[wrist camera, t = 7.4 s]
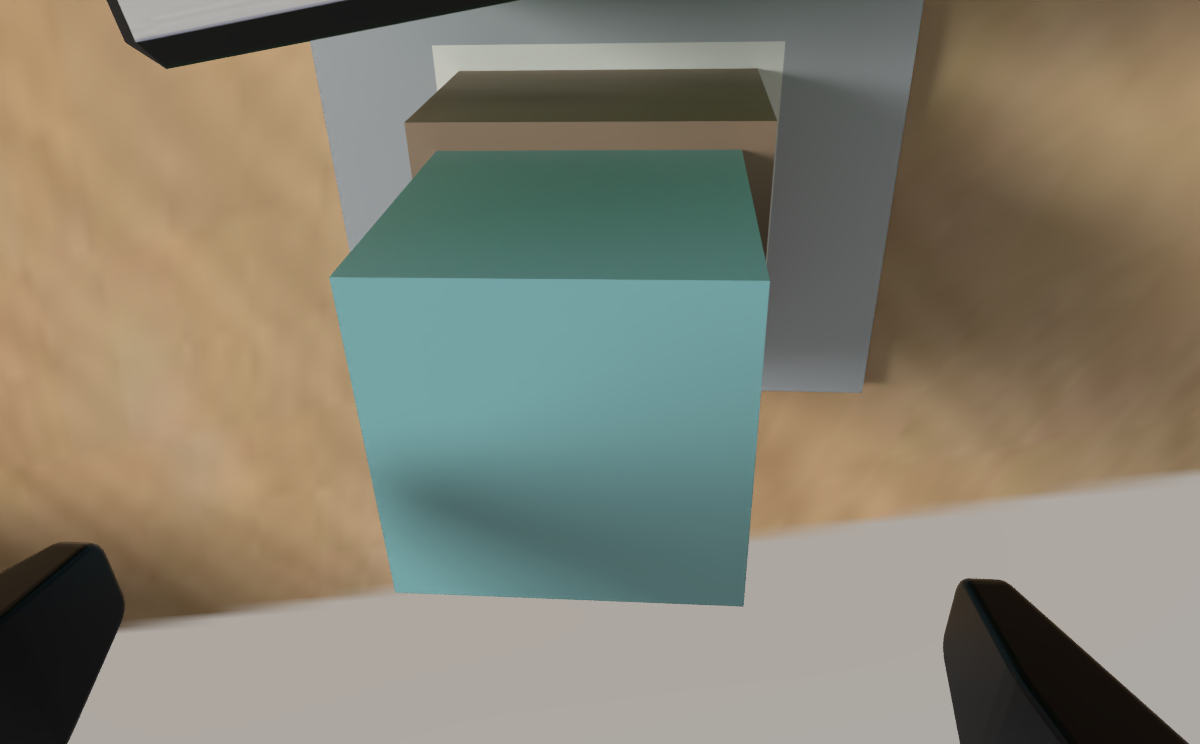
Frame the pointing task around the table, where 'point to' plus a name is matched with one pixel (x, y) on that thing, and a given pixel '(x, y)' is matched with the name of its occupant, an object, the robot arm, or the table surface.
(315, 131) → the table surface
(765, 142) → the walnut base
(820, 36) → the grey flat plate
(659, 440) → the teal block
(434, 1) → the puzzle cube
